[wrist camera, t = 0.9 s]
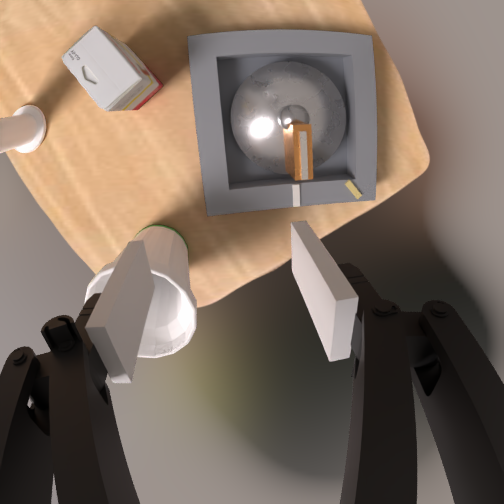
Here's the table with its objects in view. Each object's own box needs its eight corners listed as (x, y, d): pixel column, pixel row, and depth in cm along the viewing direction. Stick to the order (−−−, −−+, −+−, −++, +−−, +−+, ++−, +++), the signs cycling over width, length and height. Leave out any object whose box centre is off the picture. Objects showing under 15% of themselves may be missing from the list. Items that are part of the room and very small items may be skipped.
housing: (190, 43, 32) (186, 35, 28) (357, 40, 33) (372, 35, 29) (208, 205, 42) (207, 217, 38) (361, 190, 43) (376, 200, 39)
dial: (225, 66, 33) (227, 57, 26) (337, 64, 33) (361, 58, 27) (235, 175, 39) (239, 191, 32) (341, 167, 40) (364, 181, 33)
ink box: (165, 86, 34) (144, 79, 24) (136, 111, 35) (105, 115, 25) (126, 42, 31) (94, 22, 20) (98, 67, 32) (58, 58, 21)
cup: (116, 278, 46) (86, 345, 32) (123, 202, 40) (83, 252, 27) (193, 294, 48) (187, 367, 35) (210, 220, 43) (208, 279, 30)
